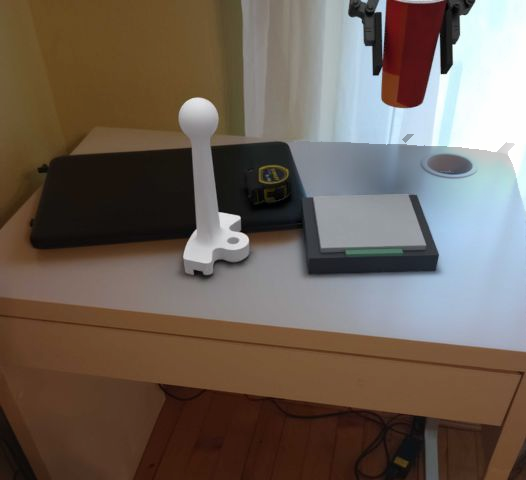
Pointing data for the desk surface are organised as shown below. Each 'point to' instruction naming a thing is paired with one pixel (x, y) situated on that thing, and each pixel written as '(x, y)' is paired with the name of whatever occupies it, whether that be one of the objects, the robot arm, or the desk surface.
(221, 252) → the joystick
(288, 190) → the tape measure
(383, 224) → the scale
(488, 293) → the desk surface
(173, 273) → the desk surface
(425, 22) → the paper cup
